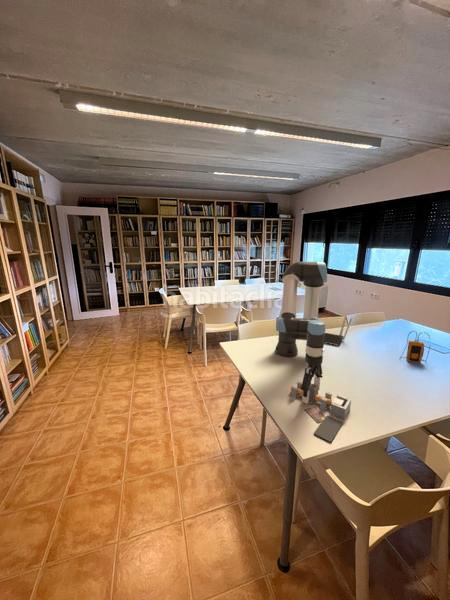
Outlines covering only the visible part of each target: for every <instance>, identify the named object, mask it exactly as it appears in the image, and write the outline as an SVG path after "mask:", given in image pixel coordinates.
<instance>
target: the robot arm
mask: <svg viewBox="0 0 450 600" xmlns="http://www.w3.org/2000/svg"><path fill="white" fill-rule="evenodd" d="M281 280H282V284H283V287H282V299H281V311H280V316H278V317H276V319H275V330H276V332H278V341H277V344H276V345H275V351H276V352H275V353H276V354H277V355H278V354H279V355H278V356H280V355H281V356H280V357H284V356H286V358H293V356H294V357H296V356H298V355H299V353H298V352H299V351H298V346H297V341H298V340H299V341H306V345H305V357H304V359H305V362H306V363H307V364H308V365H307V367H305V368H304V374H303V378H302V381H301V382H302V386H301V390H303V396H302V397H301V401H302V402H303V403H305V404H309V403H310V402H309V387H310V384H311V383H312V380H313V384H315V385H318V386H319V388H318V392H319V391H320V390H321V389H320V387H321V379H323V368H322V364H323V359H324V355H323V354H324V352H325V349H324V345H325V343H324V337H325V333H326V323H325V322H324V321H322V320H320V319H319V318H318V319H317V316H318V315H319V308H320V307H319V305H320V296H321V288H322V287H323V286H324V285H325V283H328V269H327V264H326V263H325V262H323V261H321V262H320V261H295V262H293V263H292V264H290V265H289V266H288V267H286V269H285V271H284V272H283V274H282V279H281ZM300 282H302V283H303V286H304V287H305V292H304V302H303V304H304V306H303V315H302V316H303V318H297V302H298V301H297V298H298V297H297V296H298V285H299V284H300Z"/></svg>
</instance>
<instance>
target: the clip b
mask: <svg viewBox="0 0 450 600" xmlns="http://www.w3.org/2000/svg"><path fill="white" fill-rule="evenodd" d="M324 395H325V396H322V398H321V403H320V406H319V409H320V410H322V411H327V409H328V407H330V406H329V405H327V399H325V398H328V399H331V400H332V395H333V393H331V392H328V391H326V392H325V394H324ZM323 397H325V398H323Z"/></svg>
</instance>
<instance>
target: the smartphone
mask: <svg viewBox="0 0 450 600" xmlns="http://www.w3.org/2000/svg"><path fill="white" fill-rule="evenodd" d="M343 425H344V422H343V421H342V420H339V419H337V418H334V417H332V416H330V415H329V414H328V415H326V416H325V417H324V418H323V420H322V421H321V422H320V424H319V425H318V427H316V430H315V431H314V432H313V436H315V437H317V438H319V439H320V440H323V441H325V442H326V443H329V444H332V443H333V441H334V439H335V438H336V436H337V435H338V433H339V431H340V429H341V428H342V426H343Z"/></svg>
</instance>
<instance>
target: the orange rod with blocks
mask: <svg viewBox="0 0 450 600" xmlns="http://www.w3.org/2000/svg"><path fill="white" fill-rule="evenodd" d="M292 387H293V385H292V386H290V390H289V391H290V393H292ZM318 388H319V386H318V385H315V384H314V383H312V382H311V384H310V387H309V403H310V404H313V405H314V404H316V403H317V402H318V403H320V404H321V398H322V397H323V398H325V396H321V395H319V391H318ZM297 394H299V396H303V390H301V389H299V388H298V393H297ZM325 399H327V405H329V406H328V407H331V403H335V404H337V405H340V406H342V407H344V400H341V399H338V398H337V397H334V398H333V399H332V398H331V399H328V398H325Z"/></svg>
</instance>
